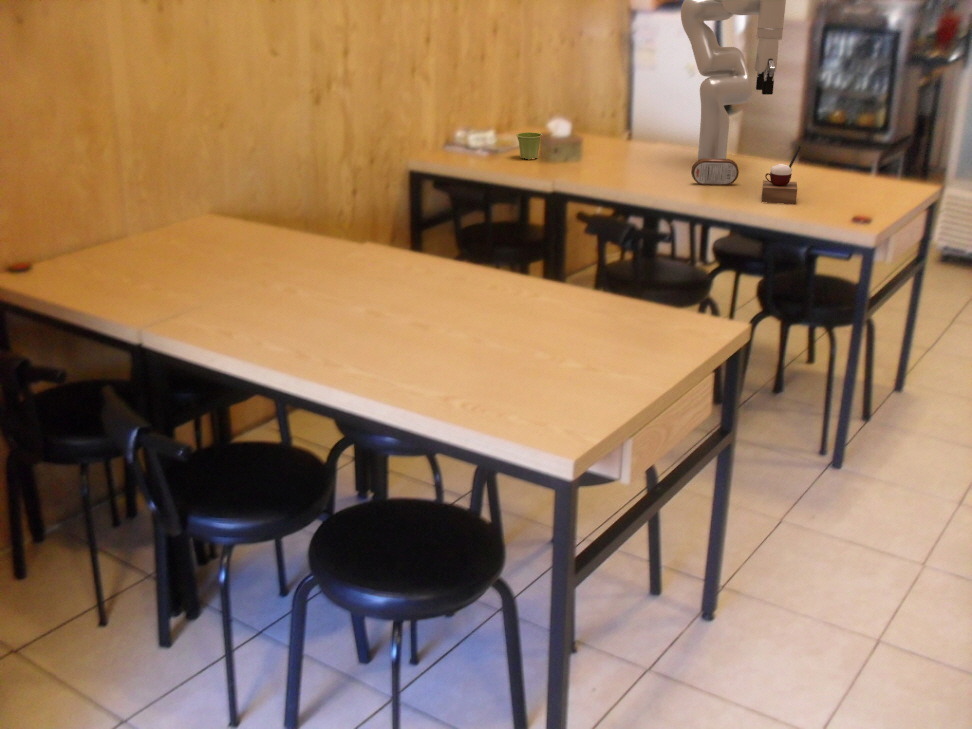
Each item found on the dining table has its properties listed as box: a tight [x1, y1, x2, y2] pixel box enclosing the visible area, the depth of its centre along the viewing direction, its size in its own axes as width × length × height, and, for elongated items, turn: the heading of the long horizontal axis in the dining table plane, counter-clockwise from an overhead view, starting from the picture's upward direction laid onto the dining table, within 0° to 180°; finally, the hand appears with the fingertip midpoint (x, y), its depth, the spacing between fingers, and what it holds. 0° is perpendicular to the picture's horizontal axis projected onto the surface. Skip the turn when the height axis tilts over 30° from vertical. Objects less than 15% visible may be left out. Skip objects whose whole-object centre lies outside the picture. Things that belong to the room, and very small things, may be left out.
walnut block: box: [761, 179, 798, 205], centre depth 317 cm, size 10×10×5 cm
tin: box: [690, 158, 740, 186], centre depth 335 cm, size 15×3×8 cm, turn 84°
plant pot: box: [516, 131, 543, 160], centre depth 375 cm, size 9×9×9 cm
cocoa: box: [764, 144, 802, 186], centre depth 313 cm, size 10×6×12 cm, turn 62°
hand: (764, 92), depth 319 cm, fingers open, 9 cm apart
